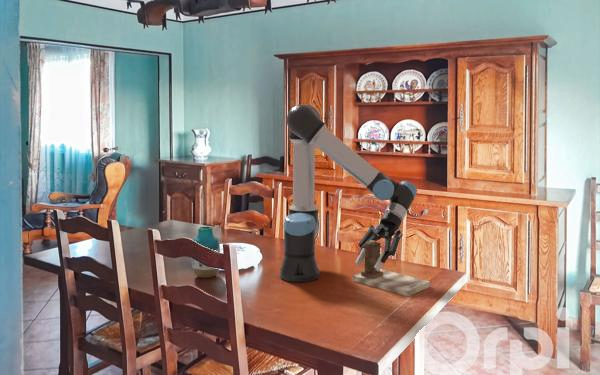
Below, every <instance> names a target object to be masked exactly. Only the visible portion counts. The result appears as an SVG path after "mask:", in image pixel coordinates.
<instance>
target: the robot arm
mask: <svg viewBox="0 0 600 375" xmlns="http://www.w3.org/2000/svg"><path fill="white" fill-rule="evenodd" d="M286 115H287V116H286V125H287V128H288V129H289V141H291V143H292V152H293V153H292V155H293V156H292V158H293V159H292V161H293V162H292V165H293V166H292V168H293V169H292V204H291V205H289V208H288V215H287V216H286V217H285V218H284V221H283V229H284V230H283V234H284V235H283V243H284V244H283V249H284V250H283V259H282V263H281V267H280V269H279V278H280V279H281V280H283V281H286V282H291V283H308V282H312V281H316V280H318V279H319V278H320V268H319V267H318V263H317V260H316V253H315V252H316V247H315V246H316V235H317V233H318V230H319V228H320V227H319V226H320V221H319V207H318V206H317V205H316V204H315V184H316V182H315V179H316V176H315V174H316V173H315V172H316V168H315V167H316V148H317V149H319V150H320V151H321V152H322V153H323V154H324V155H326V156H327V157H328V158H329V159H330V160H332V161H333V162H334V163H336V165H338V166H339V167H341V168H342V169H343V170H344V171H345V172H346V173H348V174H349V175H350V176H351V177H353V178H354V179H355V180H356V181H357V182H358V183H359V184H361V185H362V186H363V187H365V188H366V189H367V191H368V192H371V193H372V194H373V196H374V197H375V198H376V199H377V200H379V201H390V202H389V203H388V205H387V206H386V208H385V210H384V212H383V214H382V216H381V217H380V221H379V224H378V225H377V226H375V225H373V224H371V225H370V226H369V228H368V231H367V232H366V233H364V236H363V237H362V238H361V239H360V241H359V242H358V244H357V246H358V247H359V248H360V249H359V252H358V253H357V258H356V260H355V262H354V263H355V265H357V267H361V266H362V263H363V262H364V261H365V243H366V242H370V241H371V240H374V241H376V242H378V241H380V240H381V239H384V240H385V241H384V250H383V252H380V257H379V259H378V261H377V262H376V264H375V266H374V268H375V269H376V270H377V271H379V270H380V269H382V266H383V265H384V264H386V263H387V260H388V258H389V257H390V256H391V257H394V256H395V255H396V252H397V248H398V246H399V243H400V240H401V238H402V237H403V233H402V231H401V230H400V229H399V228H400V227H401V225H402V222H403V221H404V218H405V217H406V214H407V213H408V211H409V209H410V208H411V205H412V204H413V202H414V200H415V198H416V195H417V193H418V188H417V187H416V185H415V184H414V183H412V182H409V181H407V180H404V181H403V180H402V181H401V182H398V181H396V180H395V179H393V178H392V177H390V176H388V175H386V174H385V173H384V172H382V171H380V170H378V169H376V168H375V167H374V166H373V165H371V164H370V163H369V162H368V161H367V160H365V159H364V158H363V157H361V156H360V155H359V154H358V153H357V152H355V151H354V150H353V149H352V148H351V147H350V146H348V145H347V143H345V142H343V141H342V140H341V139H340V138H339V137H337V136H336V134H334V133H332V131H330V130H329V129H328V128H327V124H326V123H325V122H324V121H323V120H322V119H321V115H320V113H319V111H318V110H317V109H316V108H315V107H314V106H312V105H310V104H297V105H295V106H293V107H292V108H291V109H290V110H289V112H288V113H287V114H286ZM392 238H393V239H392Z"/></svg>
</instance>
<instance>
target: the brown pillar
mask: <svg viewBox="0 0 600 375" xmlns="http://www.w3.org/2000/svg"><path fill="white" fill-rule="evenodd" d="M380 255H381V242H378V241H374V240H371V241H370V242H366V243H365V258H364V270H362V271H360V273H361V276H365V277H368V278H372V279H376V278H378V277H381V276H383V272H382V271H380V270H379V271H377V270H376V269H375V268H374V266H375V264H376V262H377V261H378V259H379V257H380Z"/></svg>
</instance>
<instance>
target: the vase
mask: <svg viewBox="0 0 600 375" xmlns="http://www.w3.org/2000/svg"><path fill="white" fill-rule="evenodd" d="M213 229H214V228H213V226H210V225H204V226H203V225H202V226H198V228H197V236H196V237H194V238H193V240H194V241H196V242H197V243H199V244H201V245H203V246H205V247H208V248H210V249H213V250H216V251H218V252H220V253H221V247H220V240H219V238H218V237H216V236H215V235H214V231H213ZM191 266H192V272H193V273H194V275H195V276H197V277H198V278H200V279H201V278H203V279H208V278H213V277H215V276H217V274H218V273H219V271H220V268H219V269H214V268H210V267H207V266H205V265H203V264H201V263H199V262H198V261H196V260H194V259H192V258H191Z"/></svg>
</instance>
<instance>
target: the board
mask: <svg viewBox="0 0 600 375" xmlns="http://www.w3.org/2000/svg"><path fill="white" fill-rule="evenodd" d="M380 271H382V272H383V276H381V277H378V278H376V279H372V278H368V277H365V276H361V272H360V273H356V274H354V275H353V276H352V281H353V282H354V283H355V282H356V283H359V284H362V285H366V286H369V287H370V286H371V287H374V288H377V289H380V290H384V291H388V292H391V293H395V294H398V295H400V296H401V295H402V296H405V297H410V296H413V295H416V294H417V293H419V292H422V291H424V290H426V289H428V288H430V287H431V281H429V280H426V279H422V278H417V277H413V276H409V275H406V274H402V273H398V272H394V271H390V270H387V269H386V270H385V269H382V268H380Z"/></svg>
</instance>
